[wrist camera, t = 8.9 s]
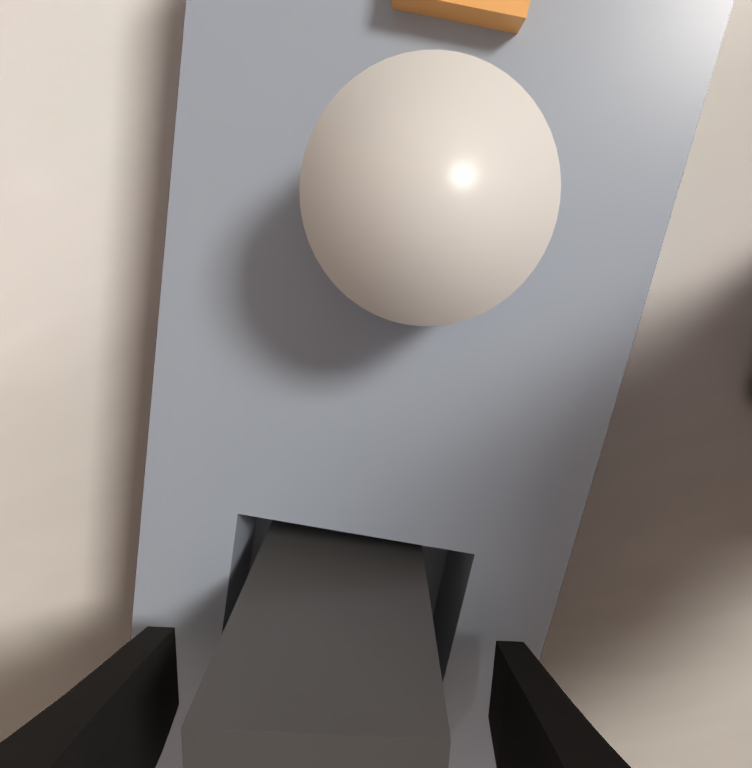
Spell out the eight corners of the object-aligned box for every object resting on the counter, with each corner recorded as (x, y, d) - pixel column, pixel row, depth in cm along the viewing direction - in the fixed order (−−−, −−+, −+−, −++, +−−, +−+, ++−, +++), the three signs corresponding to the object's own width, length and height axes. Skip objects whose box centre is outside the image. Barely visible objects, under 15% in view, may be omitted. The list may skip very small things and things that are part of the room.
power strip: (664, 8, 12) (897, -211, 7) (464, 751, 17) (504, 980, 11) (248, -78, 12) (133, -381, 6) (163, 703, 16) (57, 915, 11)
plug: (417, 516, 14) (450, 739, 7) (408, 638, 15) (431, 939, 8) (277, 509, 14) (181, 726, 7) (276, 631, 15) (189, 928, 8)
